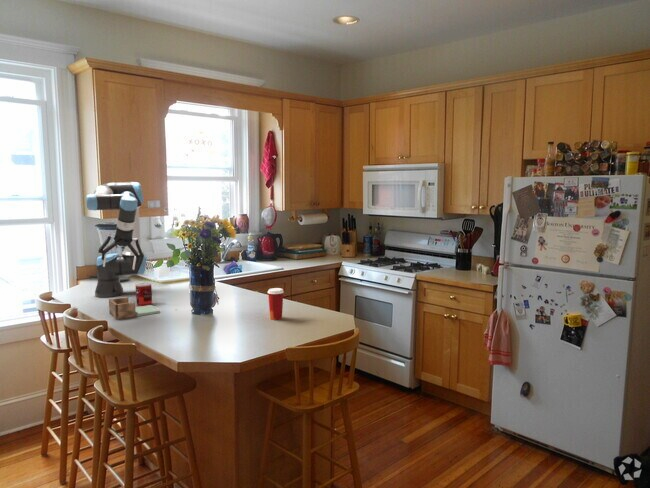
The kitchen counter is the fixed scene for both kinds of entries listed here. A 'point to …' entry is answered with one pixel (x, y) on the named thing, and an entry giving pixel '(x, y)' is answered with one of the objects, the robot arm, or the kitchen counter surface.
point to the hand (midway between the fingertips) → (118, 266)
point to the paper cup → (275, 303)
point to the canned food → (143, 294)
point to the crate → (129, 309)
